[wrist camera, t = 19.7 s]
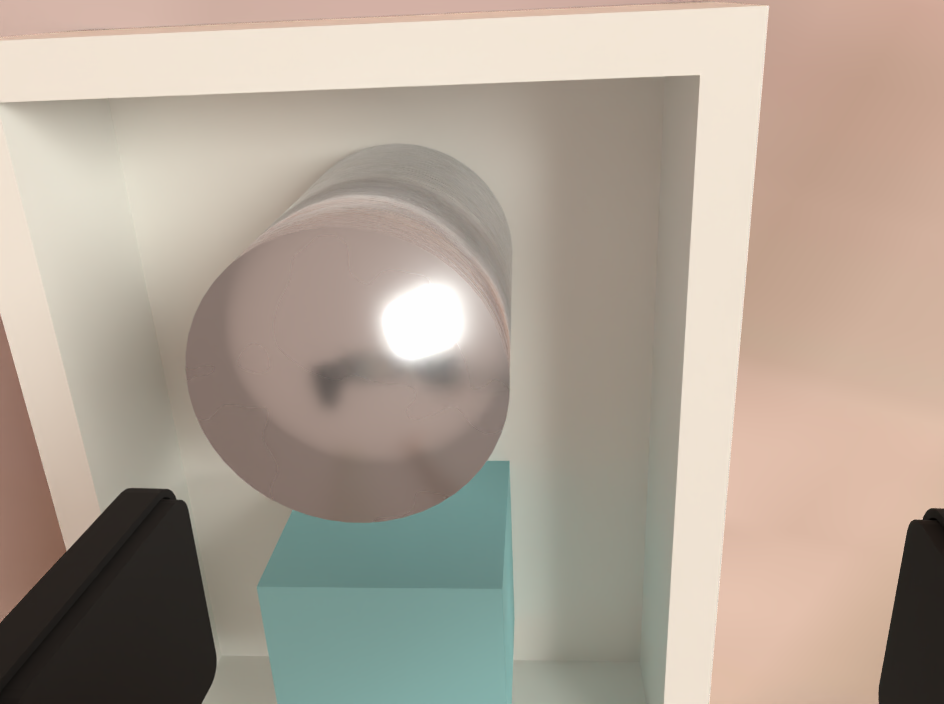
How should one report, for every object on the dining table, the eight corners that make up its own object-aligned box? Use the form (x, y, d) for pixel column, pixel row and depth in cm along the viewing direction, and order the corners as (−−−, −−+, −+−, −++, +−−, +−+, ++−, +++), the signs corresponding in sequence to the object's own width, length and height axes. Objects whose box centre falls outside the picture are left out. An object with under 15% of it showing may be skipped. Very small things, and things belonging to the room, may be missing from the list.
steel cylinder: (506, 137, 18) (501, 218, 12) (517, 350, 20) (517, 519, 14) (279, 150, 19) (153, 236, 12) (310, 358, 21) (218, 526, 14)
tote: (709, 1, 18) (769, 5, 13) (669, 664, 25) (699, 816, 20) (72, 30, 19) (-75, 44, 14) (206, 657, 26) (135, 799, 21)
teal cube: (509, 460, 21) (502, 588, 17) (514, 618, 23) (509, 771, 19) (315, 461, 22) (256, 586, 17) (335, 616, 24) (288, 766, 19)
